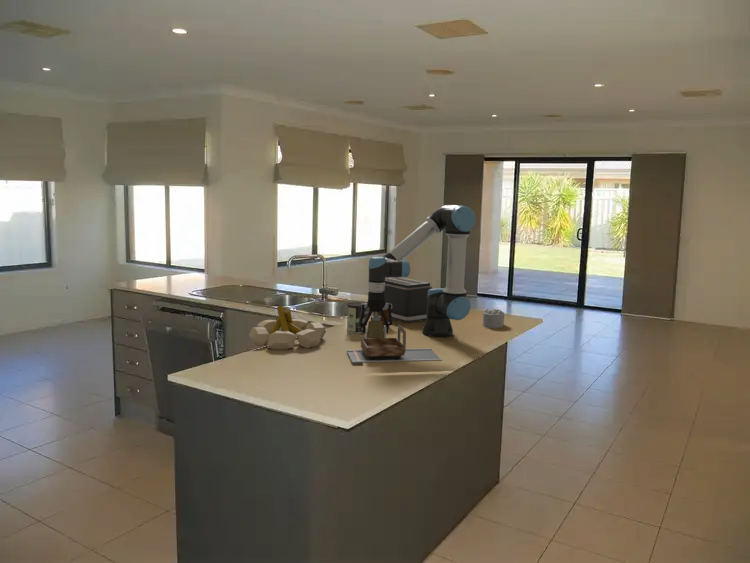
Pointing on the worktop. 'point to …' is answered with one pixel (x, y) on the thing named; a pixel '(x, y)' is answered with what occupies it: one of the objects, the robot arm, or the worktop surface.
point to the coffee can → (355, 318)
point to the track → (409, 355)
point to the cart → (384, 346)
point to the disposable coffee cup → (385, 315)
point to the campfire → (287, 331)
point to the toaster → (407, 298)
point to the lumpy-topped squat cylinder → (493, 318)
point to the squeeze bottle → (375, 327)
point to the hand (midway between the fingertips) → (375, 340)
